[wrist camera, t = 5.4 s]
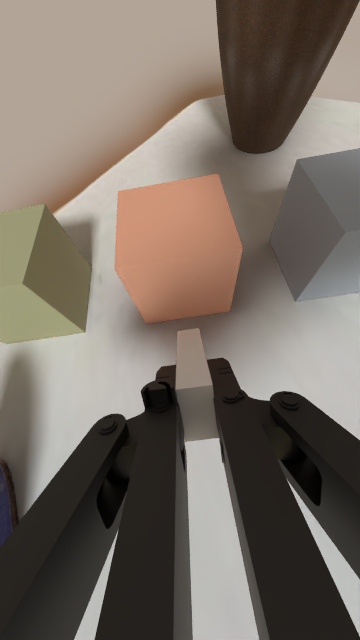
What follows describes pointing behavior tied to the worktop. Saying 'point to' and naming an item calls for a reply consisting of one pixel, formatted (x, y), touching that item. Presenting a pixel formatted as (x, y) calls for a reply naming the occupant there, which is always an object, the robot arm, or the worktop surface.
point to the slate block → (321, 227)
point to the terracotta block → (177, 248)
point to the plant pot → (274, 62)
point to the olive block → (40, 278)
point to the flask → (7, 503)
